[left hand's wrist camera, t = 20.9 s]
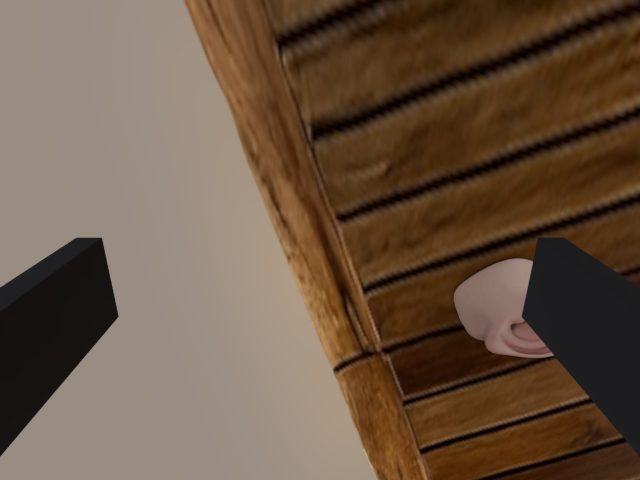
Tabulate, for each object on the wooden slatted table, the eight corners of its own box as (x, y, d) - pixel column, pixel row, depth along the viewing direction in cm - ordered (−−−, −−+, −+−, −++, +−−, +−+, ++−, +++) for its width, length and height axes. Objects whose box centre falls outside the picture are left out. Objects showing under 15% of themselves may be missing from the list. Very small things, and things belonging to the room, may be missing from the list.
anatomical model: (445, 328, 42) (532, 247, 38) (435, 307, 45) (514, 232, 42) (530, 392, 45) (618, 322, 41) (514, 368, 48) (594, 302, 45)
